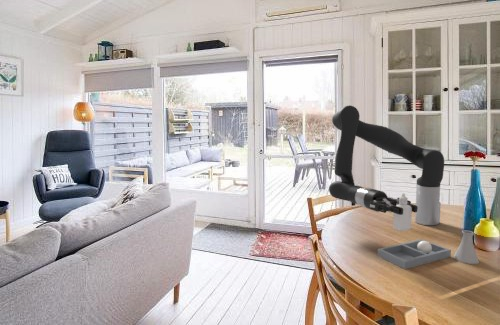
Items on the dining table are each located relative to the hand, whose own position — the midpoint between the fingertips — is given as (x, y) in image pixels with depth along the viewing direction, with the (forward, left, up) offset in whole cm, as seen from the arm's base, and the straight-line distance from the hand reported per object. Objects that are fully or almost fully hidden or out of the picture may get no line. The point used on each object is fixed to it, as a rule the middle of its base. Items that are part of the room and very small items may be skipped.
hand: (409, 210), depth 99 cm
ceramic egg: (-10, -2, -17) cm, 20 cm away
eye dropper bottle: (0, -3, -7) cm, 8 cm away
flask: (-18, +7, -18) cm, 27 cm away
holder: (-5, -2, -18) cm, 19 cm away
